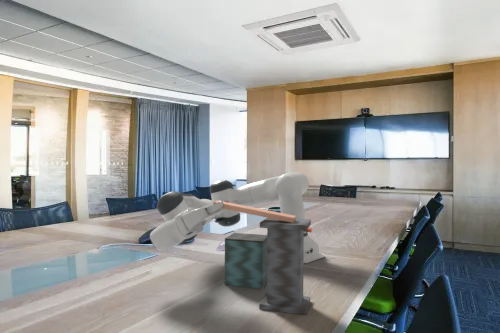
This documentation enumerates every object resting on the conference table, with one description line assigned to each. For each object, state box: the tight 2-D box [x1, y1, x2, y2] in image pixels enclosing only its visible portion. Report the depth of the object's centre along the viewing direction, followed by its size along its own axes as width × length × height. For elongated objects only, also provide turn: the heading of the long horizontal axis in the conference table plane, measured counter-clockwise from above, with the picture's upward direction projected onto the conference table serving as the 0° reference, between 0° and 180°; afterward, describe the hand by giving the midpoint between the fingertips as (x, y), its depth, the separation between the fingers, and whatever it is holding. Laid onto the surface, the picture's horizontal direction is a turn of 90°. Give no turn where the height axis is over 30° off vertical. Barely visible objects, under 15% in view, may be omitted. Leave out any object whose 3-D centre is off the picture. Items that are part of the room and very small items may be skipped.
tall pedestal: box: [258, 217, 312, 316], centre depth 108 cm, size 14×10×26 cm
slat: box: [213, 200, 296, 223], centre depth 109 cm, size 26×4×2 cm, turn 74°
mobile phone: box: [215, 242, 225, 252], centre depth 179 cm, size 8×1×15 cm
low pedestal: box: [224, 232, 267, 290], centre depth 128 cm, size 14×10×17 cm
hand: (225, 202), depth 112 cm, fingers closed on slat, 4 cm apart
